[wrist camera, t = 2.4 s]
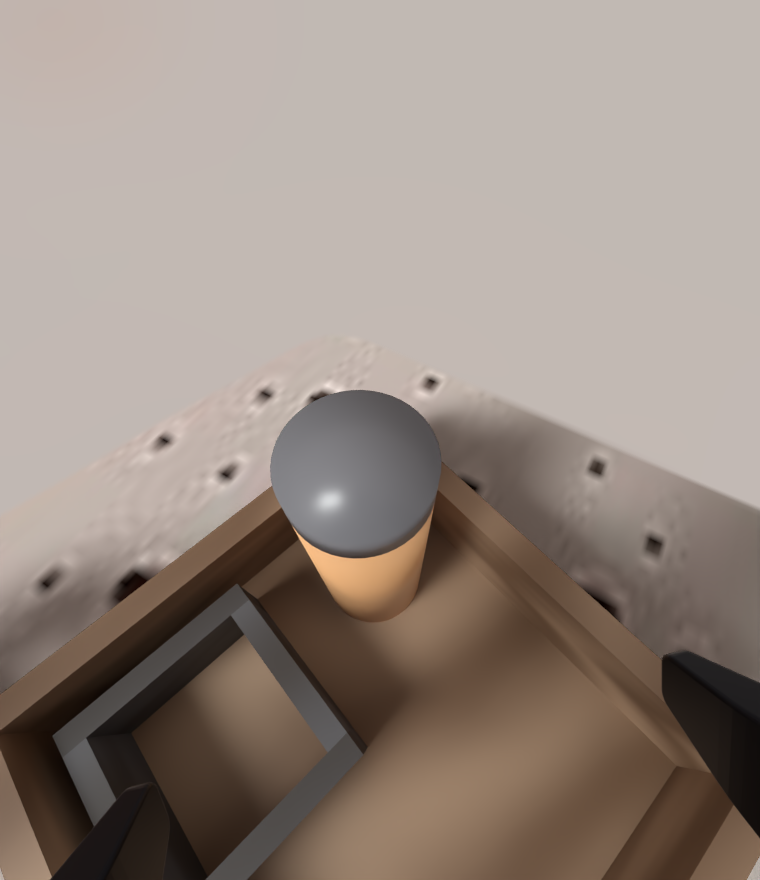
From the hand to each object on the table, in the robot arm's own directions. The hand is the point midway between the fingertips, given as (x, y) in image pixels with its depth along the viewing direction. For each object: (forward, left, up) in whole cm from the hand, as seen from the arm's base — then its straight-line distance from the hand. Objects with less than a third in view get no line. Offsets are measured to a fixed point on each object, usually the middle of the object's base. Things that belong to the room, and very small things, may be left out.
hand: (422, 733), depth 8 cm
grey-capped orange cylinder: (+5, -3, -11) cm, 12 cm away
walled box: (0, +2, -12) cm, 12 cm away
